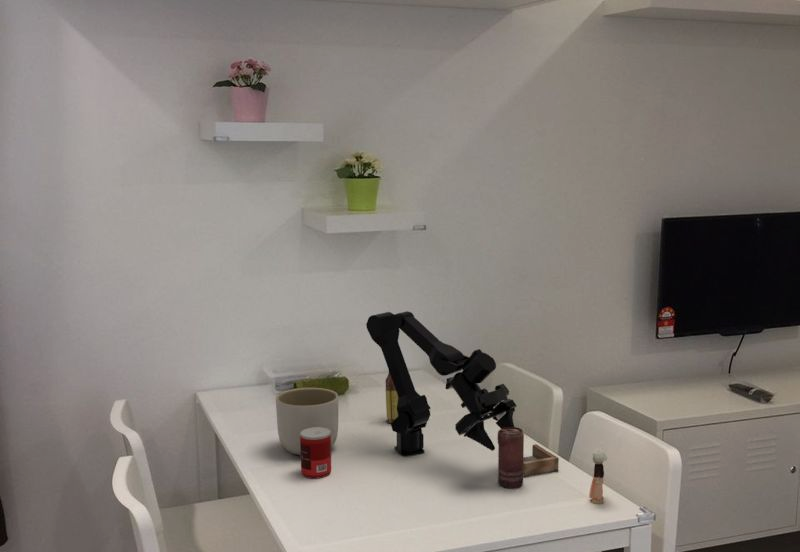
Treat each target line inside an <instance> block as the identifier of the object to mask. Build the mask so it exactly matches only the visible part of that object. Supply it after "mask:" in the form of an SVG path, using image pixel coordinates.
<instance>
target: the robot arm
mask: <svg viewBox="0 0 800 552" xmlns="http://www.w3.org/2000/svg"><path fill="white" fill-rule="evenodd" d="M365 325H366V329H367V332H368V334H369V336H370V338H371V339H372V341H373V342H374V343H375V344H377V346H378V347H379V348H380V349H381V352H382V355H383V357H384V360H385V364H386V366H387V369H388V373H389V372H390V375H391V378H392V381H393V383H394V386H395V389H396V392H397V395H398V403H397V413H398V417H397V418H396V419H395V420H394V421H393V422H392V423H390V427H391V429H392V431H393V432H395V433H396V446H394V448H393V449H395V451H397V453H399V454H400V455H401V456H404V457H406V456H411V455H417V454H423V453H425V450H424V447H425V446H424V442H425V441H424V439H425V438H424V434H423V429H424V428H426V427H427V424H428V421H429V420H430V417H431V406H430V405H429V403H428V398H427V396H426V395H425V394H422V395H421V394H420V393H418V391H417V390H416V388H415V386H414V383H413V379H412V377H411V375H410V372H409V368H408V366H407V364H406V360H405V358H404V354H403V352H402V350H401V347H400V344H399V336H400V330H401V331H402V332H403V333H404V334H405V335H406V336H407V337H408V338H409V340H411V341H412V342H414V343H415V344H416V345H417V346H418V347H419V348H420V349H421V350H422V351H423V352H424V353H425V354H426V355H427V356H428V358H429V362H430V363H429V364H430V365H431V366H432V368H433V369H434V370H435V371H436V372H437V374H438V375H440V376H443V377H444V376H449V375H453V374H454V375H453V376H452V377H448V378H446V382H445V383H446V384H445V389H446V390H450V389H452V388H453V390H454V391H455V392H456V394H457V395H458V397H459V399H460V401H461V402H462V403H461V404H460V406H461V408H462V409H464V408H466V409H467V411H468V412H469V413H467V414H464V415H463V417H461V418H460V420H459V421H457V422H456V423H455V429H454V430H455V431H456V432H457V434H458V435H459V436H462V435H463V437H464V438H466V437H467V438H469V439H471V440H472V441H475V442H476V443H478V444H479V445H481V446H483V447H484V448H487V449H488V450H490V451H491V452H493V451H494V450H496V447H495V445H494V443H493V441H492V439H491V438H490V436H489V434H488V433H487V431H486V430H485V422H484V421H487V420H489V419H493V420H495V421H496V422H495V424H496V425H497V426H498V428H500V429H501V428H504V427H515V424H514V423H515V422H514V419H513V418H514V417H513V416H514V413H515V412H516V408H517V404H516V403H515V401H514V400H513V399H511V398H508V396H509V395H510V390H509V388H508V387H507V386H506V385H505V384H504V383H501V384H498V385H495V386H494V390H492V391H488V389H487V388H482V389H481V387H480V385H479V384H481V383H483V382H484V381H485V380H486V379H487V378H488V377H489V376H490V375H491V374H492V373H493V372H494V371H495V370H496V368H497V364H496V361H495V359H494V357H492V356H491V355H489V353H485V352H483V351H482V349H480V348H478V349H476V350H474V351H473V352H472V353H470V356H467V355H465V354H463V352H461V351H460V350H459V349H457V348H456V347H454V346H452V345H450V344H447V343H444V342H442V340H440V339H438V337H436V336H435V335H434V334H433V333H432V332H431V331H430V330H429V329H428V328H427V327H425V326H424V325H423V323H421V322H420V321H419V320H418V319H417V318H416V317H415V315H414V314H413V312H411V311H408V310H407V311H402V312H398V313H393V312H390V311H386V312H382V313H377V314H372V315H369V317H368V319H367V322H366V323H365ZM461 371H462V372H461Z"/></svg>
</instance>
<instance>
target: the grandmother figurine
mask: <svg viewBox="0 0 800 552" xmlns="http://www.w3.org/2000/svg"><path fill="white" fill-rule="evenodd" d="M607 459H608V455H607V454H606V452H605V451H603V449H601V448H595V449H594V450H593V452H592V462H593V463H594V466H593V477H592V480H591V484H590V489H589V496H588V497H589V498H590V499H591V503H593V504H599V505H601V504H603V503H604V498H605V497H604V496H603V494H604V492H603V491H604V490H603V487H604V486H603V484H604V478H605V477H604V476H605V471H604V464H603V463H604V462H606V461H607Z"/></svg>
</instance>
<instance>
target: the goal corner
mask: <svg viewBox="0 0 800 552" xmlns="http://www.w3.org/2000/svg"><path fill="white" fill-rule="evenodd" d="M531 448H532V451H531V452H532V455H531V456H525V457H524V456H523V478H527V477H533V476H537V475H544V474H548V473H549V474H550V473H553V472H554V473H555V472H559V464H560V463H559V460H560V459H559V457H558V456H557V455H554V454H553V453H551V452H550V451H548V450H546V449H545V448H543V447H542V446H540V445H539V444H537V443H535V444H532V447H531Z"/></svg>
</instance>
